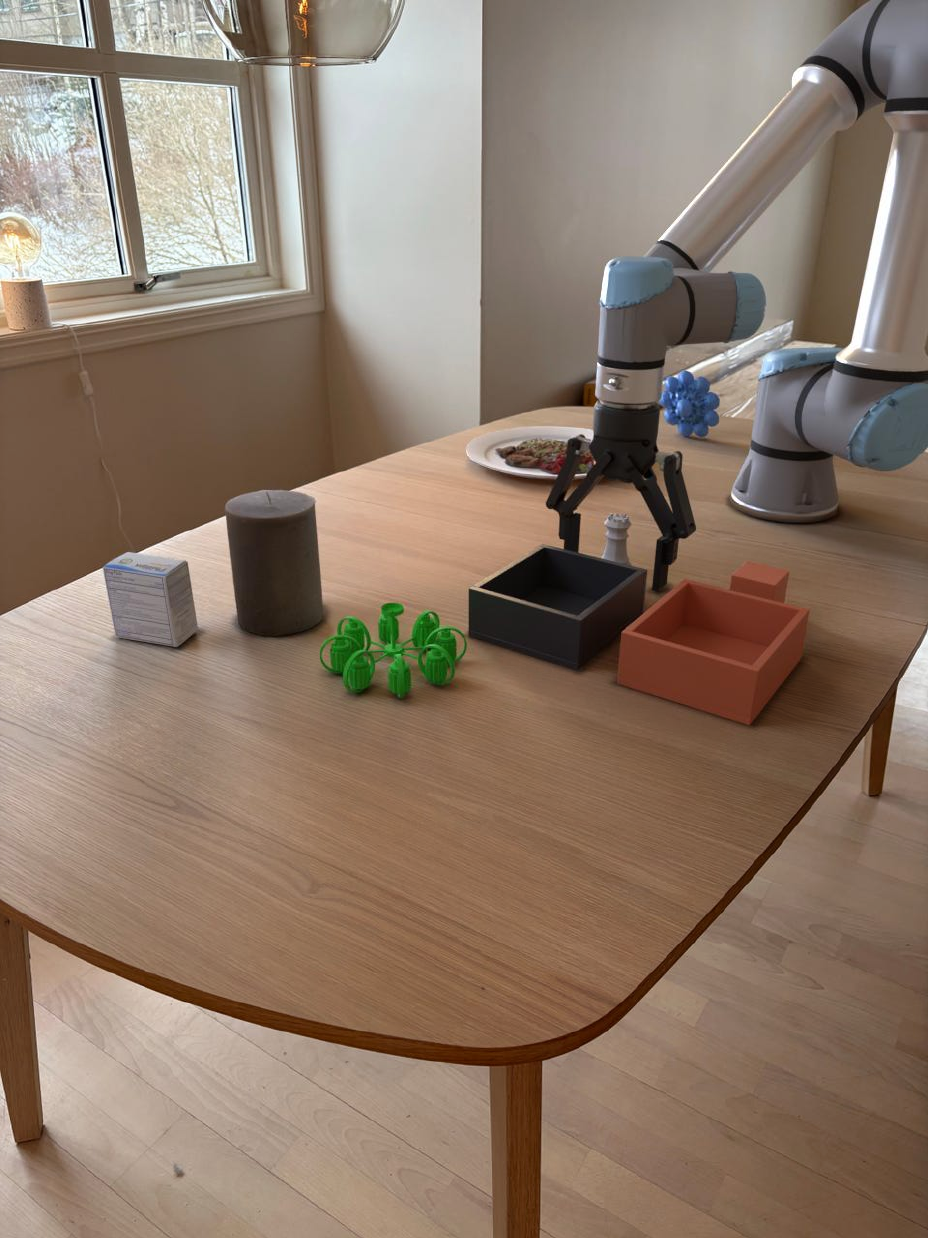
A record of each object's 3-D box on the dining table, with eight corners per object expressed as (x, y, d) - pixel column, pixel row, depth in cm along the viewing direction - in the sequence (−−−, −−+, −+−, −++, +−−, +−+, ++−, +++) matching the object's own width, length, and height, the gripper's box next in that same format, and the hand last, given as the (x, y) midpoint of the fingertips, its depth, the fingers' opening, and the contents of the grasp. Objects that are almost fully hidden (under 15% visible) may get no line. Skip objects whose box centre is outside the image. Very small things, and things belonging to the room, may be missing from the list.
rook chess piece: (631, 585, 116) (636, 523, 113) (594, 582, 117) (598, 521, 114) (632, 570, 120) (637, 511, 117) (597, 568, 121) (601, 508, 118)
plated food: (548, 427, 182) (549, 409, 181) (677, 461, 162) (679, 441, 161) (430, 457, 164) (429, 438, 163) (558, 500, 144) (559, 479, 143)
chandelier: (454, 629, 105) (454, 572, 102) (479, 699, 92) (480, 635, 89) (318, 640, 103) (313, 582, 100) (324, 713, 90) (319, 648, 87)
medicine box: (199, 631, 105) (189, 559, 101) (176, 649, 101) (164, 575, 97) (139, 621, 107) (127, 550, 103) (114, 638, 104) (100, 565, 100)
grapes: (647, 437, 176) (653, 371, 171) (660, 429, 181) (666, 365, 176) (709, 446, 171) (717, 379, 165) (720, 437, 176) (728, 372, 171)
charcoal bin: (540, 587, 116) (542, 543, 113) (643, 616, 109) (647, 569, 106) (468, 636, 104) (468, 588, 102) (577, 671, 97) (581, 620, 95)
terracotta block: (741, 599, 113) (746, 560, 111) (783, 610, 110) (789, 570, 108) (726, 614, 109) (731, 574, 107) (769, 626, 107) (775, 585, 104)
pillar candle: (251, 644, 102) (236, 512, 96) (227, 609, 110) (212, 485, 104) (336, 625, 106) (328, 497, 100) (307, 592, 114) (298, 472, 108)
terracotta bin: (679, 625, 107) (684, 578, 104) (800, 659, 100) (809, 609, 97) (616, 683, 95) (621, 632, 92) (749, 725, 88) (758, 671, 86)
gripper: (521, 393, 112) (516, 563, 122) (715, 423, 100) (692, 609, 110) (553, 382, 118) (545, 545, 127) (740, 409, 106) (716, 587, 115)
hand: (613, 575), depth 119 cm, fingers open, 12 cm apart
